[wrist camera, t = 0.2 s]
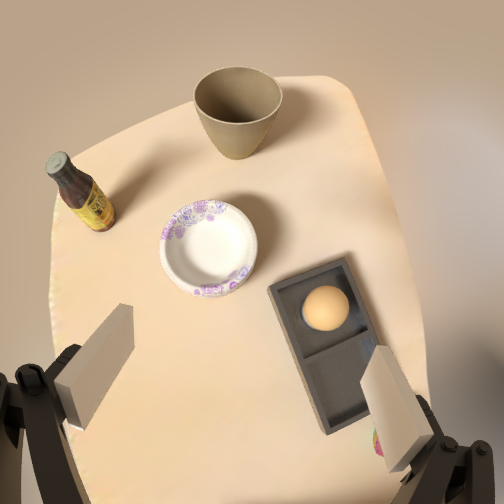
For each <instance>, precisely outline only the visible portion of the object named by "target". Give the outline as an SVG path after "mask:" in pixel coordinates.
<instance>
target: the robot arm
mask: <svg viewBox="0 0 504 504" xmlns="http://www.w3.org/2000/svg"><path fill="white" fill-rule="evenodd" d="M133 349H134V327H133V306H129V305H125V304H121V303H120V304H119V305H118V306H117V307H116V308H115V309H114V311H113V312H112V313H111V314H110V315H109V316H108V317H107V318H106V320H105V321H104V322H103V323H102V324H101V325H100V326H99V328H98V329H97V330H96V331H95V332H94V333H93V334H92V336H91V337H90V338H89V339H88V340H87V341H86V343H85V344H84V345H83V346H80V345H77V344H73V345H71V346H69V347H67V348H66V349H65V350H64V351H63V352H62V353H61V354H60V356H58V358H57V359H56V360H55V361H54V362H53V363H52V364H51V366H50V367H49V368H48V369H47V370H46V371H45V372H44V371H43V369H42V368H41V367H40V366H39V365H35V364H25V365H22V366H21V367H19V368H18V370H17V371H16V373H15V378H16V380H17V383H18V384H14V383H9V382H8V381H7V379H6V377H5V375H4V374H2V373H0V504H21V464H22V448H23V437H24V429H26V435H27V440H28V446H29V451H30V455H31V460H32V464H33V468H34V472H35V476H36V480H37V484H38V487H39V491H40V494H41V497H42V500H43V503H44V504H91V502H90V500H89V498H88V495H87V493H86V490H85V488H84V486H83V483H82V481H81V478H80V475H79V473H78V470H77V467H76V464H75V462H74V459H73V456H72V453H71V450H70V447H69V443H68V440H67V437H66V434H65V430H64V427H63V424H62V423H63V421H64V420H65V418H67V421H68V424H69V425H70V426H72V427H74V428H77V429H79V430H81V431H85V429H86V427H87V425H88V424H89V422H90V420H91V419H92V417H93V415H94V413H95V412H96V410H97V408H98V407H99V405H100V403H101V402H102V400H103V398H104V397H105V395H106V393H107V392H108V390H109V388H110V387H111V385H112V383H113V382H114V380H115V378H116V377H117V375H118V373H119V372H120V370H121V369H122V367H123V365H124V364H125V362H126V360H127V359H128V357H129V356H130V354H131V352H132V351H133ZM360 384H361V387H362V390H363V393H364V396H365V399H366V402H367V405H368V408H369V411H370V414H371V417H372V420H373V423H374V426H375V429H376V432H377V435H378V438H379V441H380V444H381V448H382V451H383V454H384V457H385V461H386V464H387V467H388V471H389V473H391V472H399V471H403V470H404V469H405V468H406V467H407V466H408V465H409V464H410V466H411V469H412V470H411V471H410V472H409V473H408V474H407V475H406V476H405V477H404V478H403V479H402V480H401V481H400V482H403V481H404V482H403V484H402V486H401V488H400V489H399V491H398V493H397V495H396V496H395V498H394V500H393V502H392V503H391V504H495V483H494V465H493V453H492V449H491V447H490V445H489V444H488V443H487V442H485V441H482V440H477V441H475V442H474V443H473V444H472V445H471V446H470V447H464V446H459V445H458V443H457V442H456V441H455V440H454V439H453V438H451V437H448V436H444V434H443V432H442V430H441V428H440V426H439V424H438V422H437V420H436V418H435V416H433V415H434V414H433V412H432V410H430V407H429V405H428V403H427V401H426V400H425V399H424V398H423V397H422V396H421V395H415V394H414V392H413V391H412V389H411V387H410V385H409V383H408V381H407V379H406V377H405V375H404V373H403V372H402V370H401V368H400V366H399V364H398V362H397V360H396V359H395V357H394V355H393V353H392V351H391V350H390V348H389V346H383V345H376V348H375V350H374V352H373V355H372V357H371V359H370V362H369V364H368V366H367V368H366V370H365V373H364V375H363V377H362V379H361V381H360Z"/></svg>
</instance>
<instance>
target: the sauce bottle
mask: <svg viewBox="0 0 504 504" xmlns="http://www.w3.org/2000/svg"><path fill="white" fill-rule="evenodd" d="M45 169H46V172H47V173H48V175H49V176H50V177H52V178H54V180H55V181H56V182H57V184H58V185H59V192H60V196H61V198H62V199H63V200H64V202H66V203H67V205H68V206H69V207H70V208H71V210H72V211H73V212H74V213H75V214H76V215H77V216H78V217H79V218H80V219H81V220H82V221H83V222H84V223H85V224H86V225H87V226H88V227H90V228H91V229H92V230H94V231H96V232H104V231H106V230H108V229H109V228H110V227H111V226H112V224H113V223H114V220H115V216H116V215H115V211H114V208H113V206H112V204H111V203H110V202H109V200H108V199H107V198H106V196H105V195H104V193H103V192H102V191H101V189H100V188H99V187H98V185H97V184H96V182H95V181H94V180H93V178H92V177H91V176H89V175H88V174H86V173H84V172H82V171H80V170H78V169H77V168H76V167H75V166H74V165H73V164H72V163H71V161H70V158H69V156H68V155H67V154H66V153H65V152H62V151H61V152H57V153H55V154H53V155H52V156H51V157H50V158H49V159H48V161H47V163H46V167H45Z"/></svg>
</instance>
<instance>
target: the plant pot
mask: <svg viewBox="0 0 504 504" xmlns="http://www.w3.org/2000/svg"><path fill="white" fill-rule="evenodd" d="M282 98H283V93H282V89H281V87H280V85H279V83H278V82H277V81H276V80H275V79H274V78H273V77H272V76H270V75H269V74H267V73H266V72H264V71H261V70H259V69H255V68H251V67H246V66H229V67H224V68H219V69H217V70H214V71H212V72H210V73H208V74H206V75H205V76H203V77H202V78H201V79H200V80H199V81H198V82H197V84H196V86H195V88H194V90H193V102H194V105H195V107H196V110H197V113H198V115H199V118H200V120H201V123H202V125H203V127H204V129H205V131H206V132H207V134H208V136H209V138H210V139H211V141H212V142H213V144H214V145H215V146H216V147H217V149H218V150H219V151H220V152H221V153H222V154H223V155H224V156H225V157H227V158H229V159H233V160H240V159H244V158H246V157H248V156H250V155H251V154H252V153H253V152H254V150H255V149H256V148H257V147H258V146H259V144H260V143H261V142H262V140H263V139H264V137H265V136H266V134H267V133H268V131H269V129H270V127H271V125H272V123H273V121H274V119H275V117H276V115H277V112H278V110H279V107H280V105H281V102H282Z"/></svg>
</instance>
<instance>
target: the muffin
mask: <svg viewBox="0 0 504 504" xmlns="http://www.w3.org/2000/svg"><path fill="white" fill-rule="evenodd" d="M348 312H349V303H348V300H347V297H346V296H345V294H344V293H343V292H342V291H341V290H340V289H338V288H336V287H334V286H320V287H318V288H316V289H314V290H313V291H311V292H310V294H309V295H308V296H307V298H306V299H305V301H304V302H303V304H302V308H301V314H302V318H303V320H304V322H305V323H306V324H307V325H308V326H309V327H311V328H312V329H316V330H321V331H331V330H334V329H336V328H338V327H339V326H341V325H342V324H343V323H344V321H345V320H346V318H347V316H348Z"/></svg>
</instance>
